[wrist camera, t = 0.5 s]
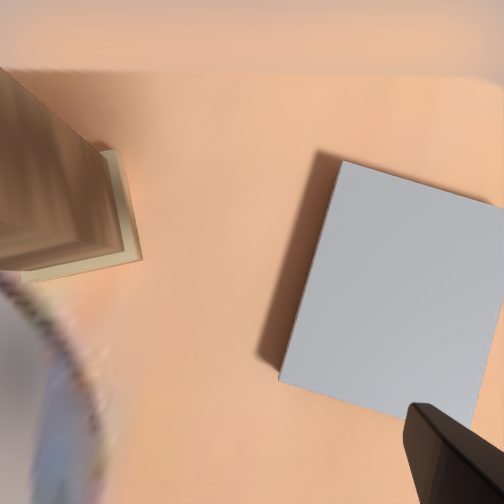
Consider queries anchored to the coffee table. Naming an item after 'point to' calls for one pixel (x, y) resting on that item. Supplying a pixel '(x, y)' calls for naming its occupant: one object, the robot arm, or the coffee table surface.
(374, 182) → the block
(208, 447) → the coffee table surface
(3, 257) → the light wood tall block
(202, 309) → the coffee table surface
